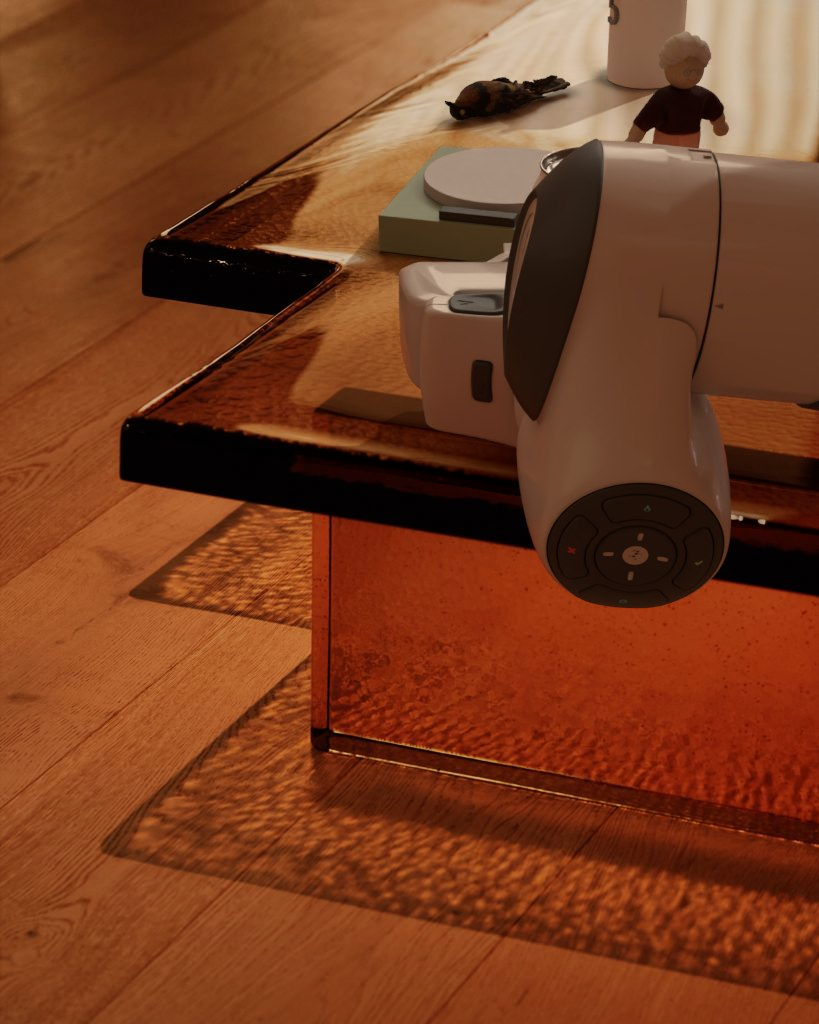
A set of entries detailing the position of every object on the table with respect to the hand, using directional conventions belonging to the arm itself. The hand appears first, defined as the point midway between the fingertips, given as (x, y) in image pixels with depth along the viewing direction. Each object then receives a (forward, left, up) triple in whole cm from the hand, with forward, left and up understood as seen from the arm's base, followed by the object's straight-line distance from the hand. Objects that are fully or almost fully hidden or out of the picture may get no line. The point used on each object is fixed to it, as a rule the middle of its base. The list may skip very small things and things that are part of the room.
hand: (586, 255), depth 88 cm
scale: (+10, -19, -7) cm, 22 cm away
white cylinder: (+7, -54, -7) cm, 55 cm away
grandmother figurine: (-1, -23, -7) cm, 24 cm away
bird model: (+16, -43, -7) cm, 46 cm away
